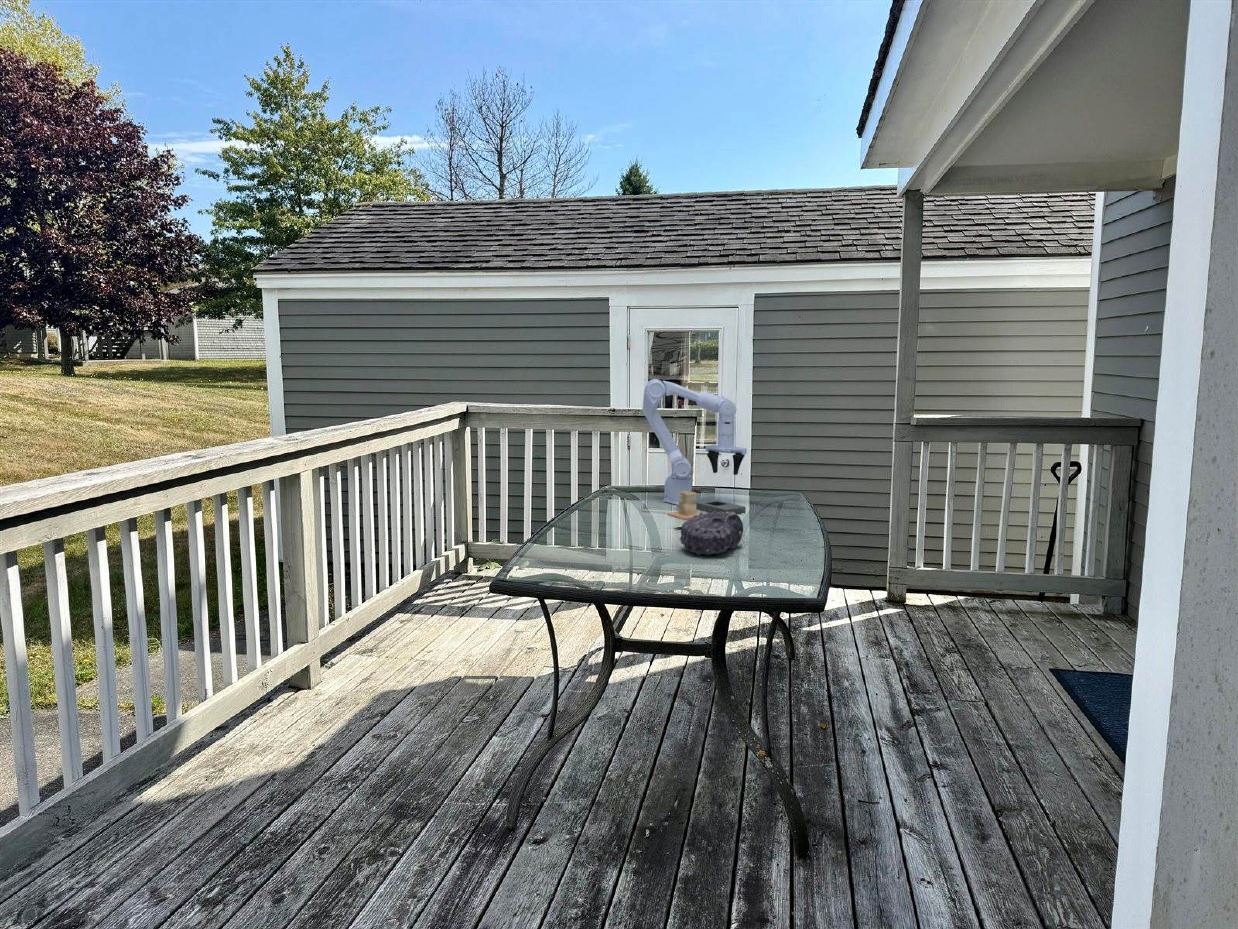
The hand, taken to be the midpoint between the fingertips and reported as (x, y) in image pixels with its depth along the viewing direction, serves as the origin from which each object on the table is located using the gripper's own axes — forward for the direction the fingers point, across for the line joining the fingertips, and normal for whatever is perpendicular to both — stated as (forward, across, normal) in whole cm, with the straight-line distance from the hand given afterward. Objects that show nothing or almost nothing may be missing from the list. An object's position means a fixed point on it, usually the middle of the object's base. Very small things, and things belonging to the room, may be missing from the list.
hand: (725, 473), depth 294 cm
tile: (+10, -2, -25) cm, 28 cm away
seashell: (+11, +23, -60) cm, 65 cm away
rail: (+10, +2, -12) cm, 16 cm away
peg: (+10, -2, -25) cm, 27 cm away
